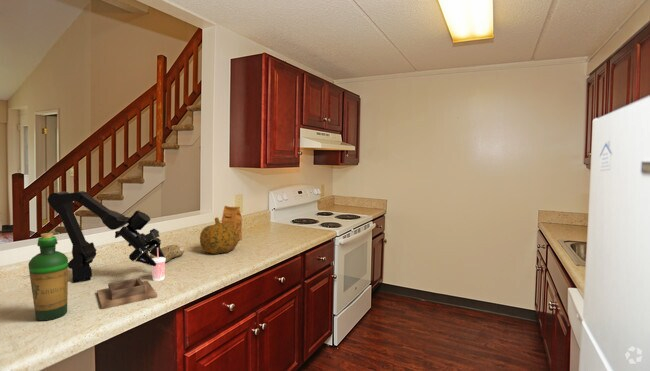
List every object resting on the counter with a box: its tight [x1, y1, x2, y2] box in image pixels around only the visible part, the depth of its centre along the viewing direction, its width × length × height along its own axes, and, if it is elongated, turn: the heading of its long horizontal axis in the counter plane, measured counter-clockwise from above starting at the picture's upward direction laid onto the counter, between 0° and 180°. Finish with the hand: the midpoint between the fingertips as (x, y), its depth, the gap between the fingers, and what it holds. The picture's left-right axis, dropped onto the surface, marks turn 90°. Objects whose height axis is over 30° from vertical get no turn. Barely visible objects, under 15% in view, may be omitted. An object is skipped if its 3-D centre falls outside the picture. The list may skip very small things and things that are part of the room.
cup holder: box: [96, 277, 158, 310], centre depth 137 cm, size 18×18×4 cm
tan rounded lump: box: [149, 244, 185, 263], centre depth 183 cm, size 13×8×20 cm
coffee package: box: [221, 205, 243, 241], centre depth 227 cm, size 10×12×22 cm
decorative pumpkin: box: [199, 216, 240, 255], centre depth 200 cm, size 20×21×20 cm
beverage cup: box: [150, 248, 166, 282], centre depth 155 cm, size 6×6×14 cm
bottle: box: [27, 232, 69, 321], centre depth 119 cm, size 11×11×28 cm
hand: (160, 262), depth 155 cm, fingers open, 9 cm apart
